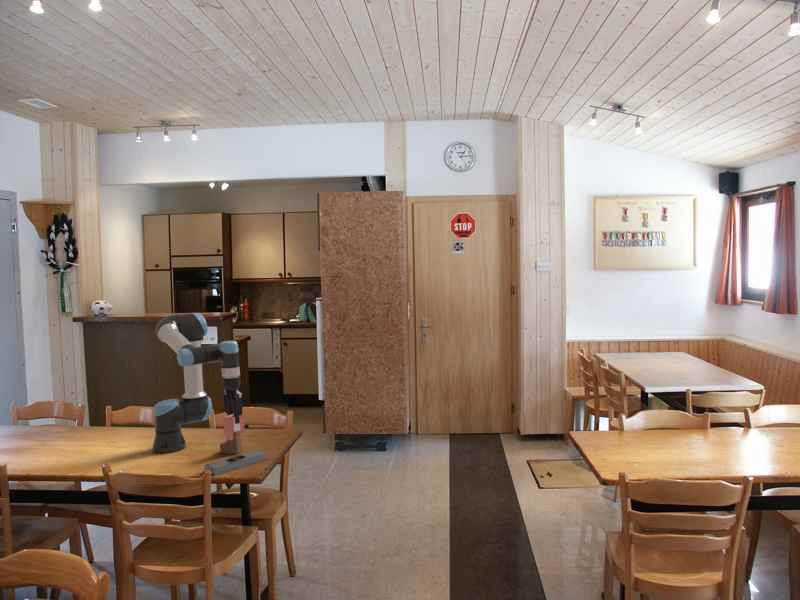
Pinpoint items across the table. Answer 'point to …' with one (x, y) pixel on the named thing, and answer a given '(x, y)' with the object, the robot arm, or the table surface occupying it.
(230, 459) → the rail
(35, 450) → the table surface
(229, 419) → the pink slab
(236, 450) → the wooden block
